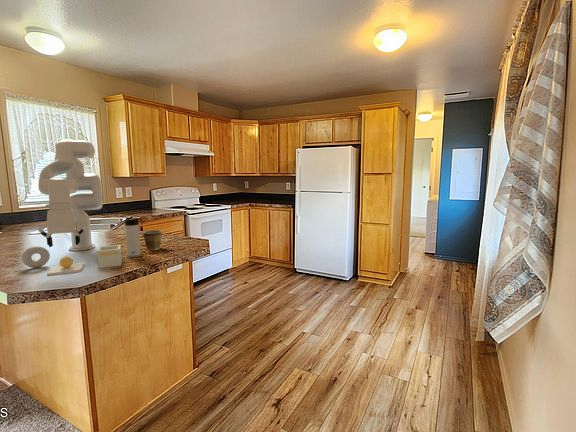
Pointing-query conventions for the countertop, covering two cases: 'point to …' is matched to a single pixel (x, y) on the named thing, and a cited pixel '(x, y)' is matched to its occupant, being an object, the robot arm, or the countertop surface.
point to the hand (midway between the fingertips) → (64, 245)
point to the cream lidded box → (109, 256)
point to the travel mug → (132, 238)
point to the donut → (33, 250)
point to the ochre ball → (66, 262)
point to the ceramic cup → (152, 239)
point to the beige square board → (66, 269)
